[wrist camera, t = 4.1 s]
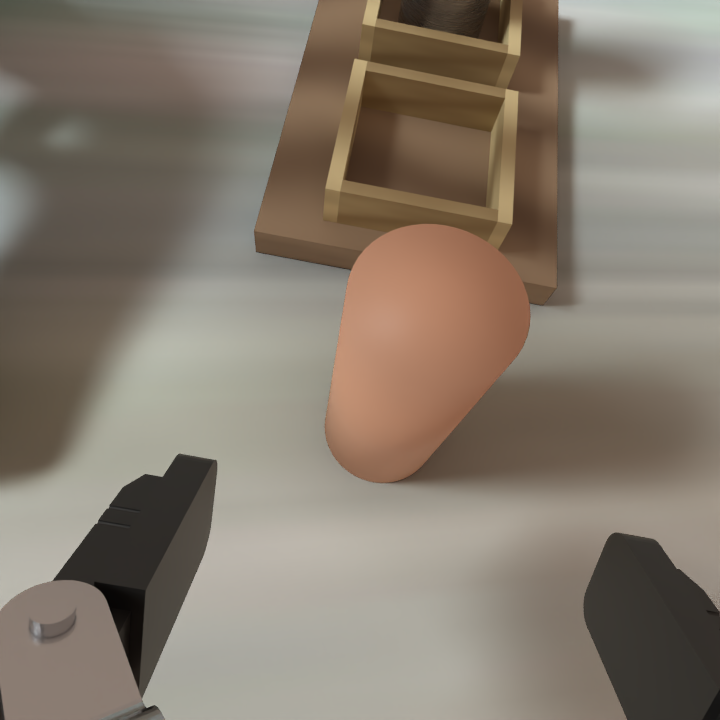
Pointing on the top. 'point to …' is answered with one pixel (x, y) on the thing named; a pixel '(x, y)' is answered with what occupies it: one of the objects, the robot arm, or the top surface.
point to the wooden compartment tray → (420, 137)
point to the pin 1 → (445, 15)
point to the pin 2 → (419, 345)
